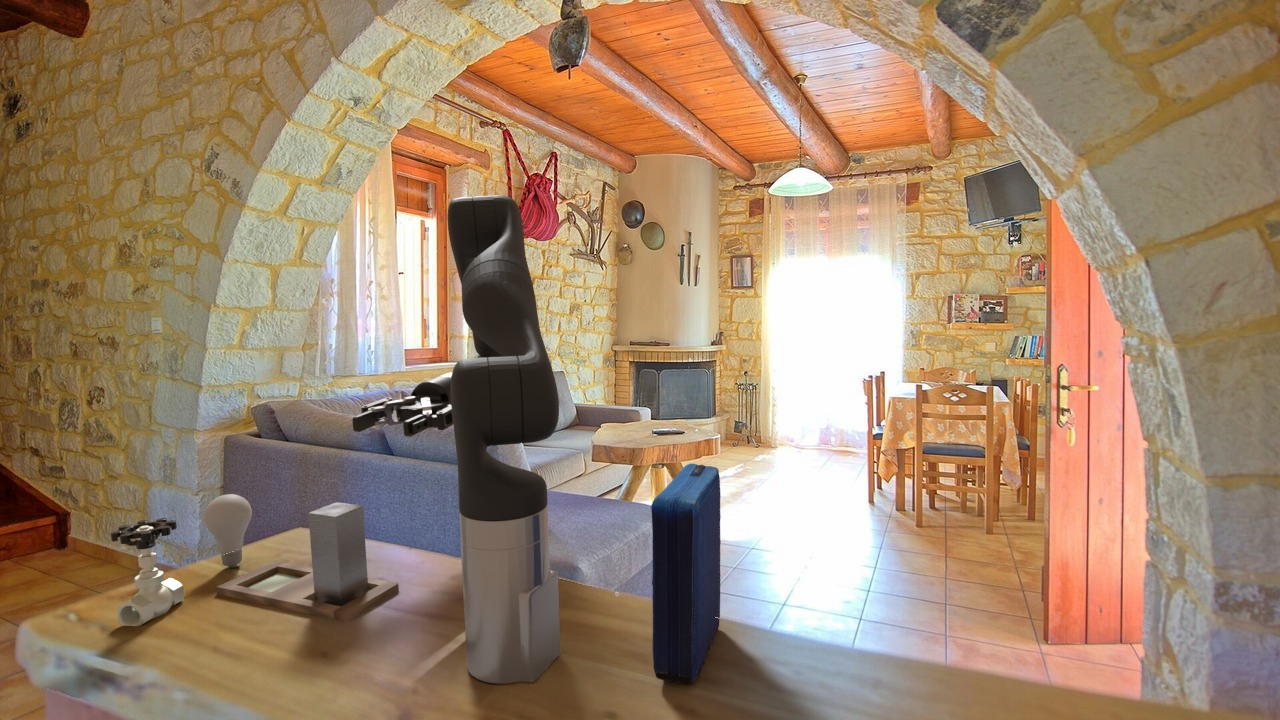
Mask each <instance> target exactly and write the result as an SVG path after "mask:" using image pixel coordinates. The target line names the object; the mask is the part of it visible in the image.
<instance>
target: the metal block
mask: <svg viewBox="0 0 1280 720" xmlns="http://www.w3.org/2000/svg"><path fill="white" fill-rule="evenodd" d="M308 526H309V539H310V540H309V541H310V552H311V565H312V567H311V568H313V581H314V594H315V601H316V602H321V603H326V604H331V605H336V606H341V607H342V606H344V605H345V604H347V603H349V602H351V601H352V600H354V599H356V598H358V597H359V596H361V595H363V594H365V593H367V592H368V578H369V577H368V564H367V563H368V561H367V550H366V534H365V533H366V532H365V518H364V505H362V504H361V505H360V504H352V503H346V502H338V501H337V502H333V503H331V504H328V505H325V506H323V507H320V508H318V509H314V510H311V511H309V512H308Z"/></svg>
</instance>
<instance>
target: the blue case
mask: <svg viewBox="0 0 1280 720" xmlns="http://www.w3.org/2000/svg"><path fill="white" fill-rule="evenodd" d="M719 472H720V471H719V468H718V467H716V466H711V465H704V464H696V463H687V464H686V465H684V466H683V467H682V468H681V470H680V472H679V473H678V474H677V475H676V477H675V478H673V479H672V481H671V482H669V484H668V485H667V486H666V487H665V488H664V489H663V490H662V491H660V493H659V494H658V495H657V496H656V497H654V499H653V501H652V504H651V506H650V510H651V512H650V513H651V526H652V527H651V528H652V532H651V533H652V576H651V577H652V578H651V579H652V580H651V587H652V658H653V659H652V661H653V671H654V674H655V677H656V679H658V680H663V681H669V682H674V683H682V684H684V685H692V684H694V683H695V682H696V680H697V678H698V677H699V676H700V674H701V672H702V668H703V667H704V665H705V663H706V659H707V655H708V652H710V651H711V650H710V649H711V645H712V642H713V640H714V638H715V634H716V633H717V632H718V630H719V628H720V620H721V619H718V618H720V617H721V517H722V516H721V499H722V498H721V496H722V495H721V477H720V473H719ZM715 617H718V618H715Z"/></svg>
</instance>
